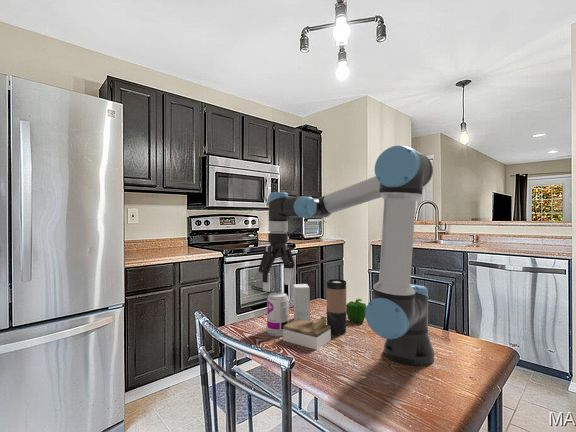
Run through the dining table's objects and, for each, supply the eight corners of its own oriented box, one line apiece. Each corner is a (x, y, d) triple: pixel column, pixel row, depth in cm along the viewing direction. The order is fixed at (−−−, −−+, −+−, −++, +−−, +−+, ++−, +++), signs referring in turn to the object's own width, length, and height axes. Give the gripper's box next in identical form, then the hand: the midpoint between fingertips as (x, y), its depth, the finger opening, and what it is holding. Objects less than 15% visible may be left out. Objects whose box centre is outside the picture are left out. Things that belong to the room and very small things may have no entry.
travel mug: (350, 334, 119) (350, 282, 119) (332, 337, 116) (332, 283, 116) (339, 328, 126) (339, 278, 126) (323, 330, 123) (323, 279, 123)
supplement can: (269, 338, 115) (269, 298, 115) (265, 331, 122) (265, 292, 123) (290, 336, 117) (291, 296, 117) (285, 329, 125) (285, 291, 125)
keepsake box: (330, 341, 112) (330, 329, 112) (317, 350, 104) (317, 337, 104) (298, 333, 120) (298, 321, 120) (283, 341, 112) (283, 329, 112)
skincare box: (310, 324, 130) (310, 287, 130) (294, 325, 129) (294, 287, 129) (307, 318, 138) (307, 283, 138) (292, 318, 138) (292, 283, 138)
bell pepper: (342, 320, 136) (342, 297, 136) (356, 317, 140) (356, 294, 140) (354, 325, 129) (354, 301, 129) (369, 322, 133) (369, 299, 133)
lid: (330, 327, 112) (330, 317, 112) (317, 336, 104) (317, 325, 104) (298, 320, 120) (298, 310, 120) (283, 328, 112) (283, 317, 112)
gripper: (288, 231, 132) (287, 281, 132) (249, 233, 112) (248, 292, 112) (303, 231, 128) (302, 283, 128) (265, 234, 108) (264, 295, 107)
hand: (277, 287), depth 120 cm, fingers open, 13 cm apart
